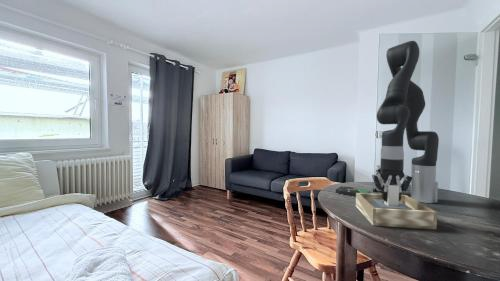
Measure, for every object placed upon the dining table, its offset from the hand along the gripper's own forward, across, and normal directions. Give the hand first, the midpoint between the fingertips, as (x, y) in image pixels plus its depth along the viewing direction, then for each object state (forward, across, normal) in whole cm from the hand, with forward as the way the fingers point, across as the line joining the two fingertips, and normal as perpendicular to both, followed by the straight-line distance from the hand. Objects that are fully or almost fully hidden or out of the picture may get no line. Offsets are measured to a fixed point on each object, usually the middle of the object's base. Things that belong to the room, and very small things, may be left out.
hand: (391, 200), depth 85 cm
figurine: (+6, -10, -34) cm, 36 cm away
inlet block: (+5, 0, 0) cm, 5 cm away
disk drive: (+7, +6, -30) cm, 32 cm away
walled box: (+6, 0, 0) cm, 6 cm away
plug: (+3, 0, 0) cm, 3 cm away
